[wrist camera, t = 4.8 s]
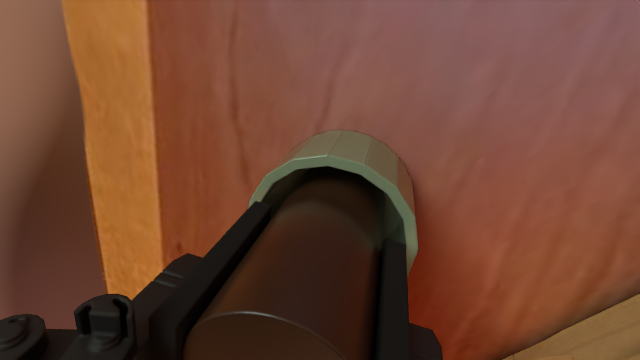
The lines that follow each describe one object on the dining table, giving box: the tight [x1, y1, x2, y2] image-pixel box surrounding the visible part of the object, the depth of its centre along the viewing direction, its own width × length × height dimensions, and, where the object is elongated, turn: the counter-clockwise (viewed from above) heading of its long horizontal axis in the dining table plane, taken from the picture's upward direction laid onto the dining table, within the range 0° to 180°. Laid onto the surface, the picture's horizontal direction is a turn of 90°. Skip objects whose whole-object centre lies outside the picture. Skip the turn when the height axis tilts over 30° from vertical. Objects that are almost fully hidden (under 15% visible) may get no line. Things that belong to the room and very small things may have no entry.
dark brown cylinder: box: [182, 166, 385, 360], centre depth 13 cm, size 5×5×11 cm
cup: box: [249, 130, 419, 276], centre depth 16 cm, size 8×8×4 cm
